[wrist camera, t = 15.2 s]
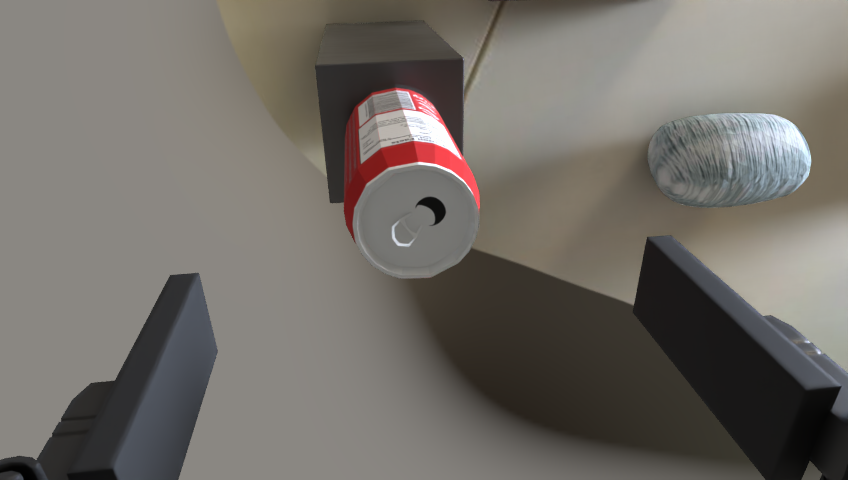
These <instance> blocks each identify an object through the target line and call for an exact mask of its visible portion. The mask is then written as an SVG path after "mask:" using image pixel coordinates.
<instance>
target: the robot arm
mask: <svg viewBox="0 0 848 480" xmlns="http://www.w3.org/2000/svg"><path fill="white" fill-rule="evenodd" d="M633 313H634V314H635V316H636V317H637V318H638V319H639V321H640V322H641V323H642V324H643V326H644V327H645V328H646V329H647V331H648V332H649V333H650V335H651V336H652V337H653V338H654V340H655V341H656V342H657V343H658V344H659V346H660V347H661V348H662V350H663V351H664V352H665V353H666V355H667V356H668V357H669V359H670V360H671V361H672V362H673V363H674V365H675V366H676V367H677V369H678V370H679V371H680V372H681V374H682V375H683V376H684V377H685V379H686V380H687V381H688V382H689V384H690V385H691V386H692V387H693V389H694V390H695V391H696V393H697V394H698V395H699V396H700V397H701V399H702V400H703V401H704V403H705V404H706V405H707V406H708V407H709V409H710V410H711V411H712V413H713V414H714V415H715V416H716V418H717V419H718V420H719V421H720V422H721V424H722V425H723V426H724V428H725V429H726V430H727V431H728V433H729V434H730V435H731V436H732V438H733V439H734V440H735V442H736V443H737V444H738V445H739V447H740V448H741V449H742V450H743V452H744V453H745V454H746V455H747V457H748V458H749V459H750V461H751V462H752V463H753V464H754V466H755V467H756V468H757V469H758V471H759V472H760V473H761V474H762V476H763V477H764V478H765V479H766V480H801V479H802V477H803V475H804V472H805V470H806V468H807V465H808V463H809V461H811V462H812V463H813V464H814V465H815V466H816V467H817V468H818V470H819V471H821V473H822V476H821V478H820V480H848V373H847V372H846V371H845V370H843V369H842V368H841V367H840V366H839V365H837V364H836V363H835V362H834V361H833V360H832V359H830V358H829V357H828V356H827V355H826V354H822V353H821V350H820V349H819V348H817V347H816V346H815V345H814V344H813V343H809V342H808V339H807V338H806V337H804V336H803V335H802V334H801V333H800V332H798V331H797V330H796V329H795V328H794V327H792V326H791V325H789V324H787V323H785V322H783V321H781V320H779V319H777V318H775V317H773V316H771V315H770V316H762V315H761V314H760V313H759V312H757V311H756V310H755V309H754V308H753V307H752V306H751V305H750V304H748V303H747V302H746V301H745V300H744V299H743V298H742V297H740V296H739V295H738V294H737V293H736V292H735V291H734V290H732V289H731V288H730V287H729V286H728V285H727V284H726V283H725V282H723V281H722V280H721V279H720V278H719V277H718V276H717V275H715V274H714V273H713V272H712V271H711V270H710V269H709V268H707V267H706V266H705V265H704V264H703V263H702V262H701V261H699V260H698V259H697V258H696V257H695V256H694V255H693V254H692V253H690V252H689V251H688V250H687V249H686V248H685V247H684V246H682V245H681V244H680V243H679V242H678V241H677V240H676V239H674V238H673V237H672V236H671V235H668V236H656V237H647V239H646V245H645V250H644V255H643V261H642V266H641V271H640V277H639V282H638V287H637V292H636V298H635V303H634V308H633ZM217 351H218V350H217V346H216V342H215V338H214V334H213V330H212V326H211V321H210V318H209V313H208V309H207V305H206V301H205V296H204V292H203V288H202V284H201V280H200V276H199V273H192V274H179V275H170V277H169V279H168V281H167V282H166V284H165V286H164V288H163V290H162V292H161V294H160V296H159V298H158V299H157V301H156V303H155V305H154V307H153V309H152V311H151V313H150V315H149V317H148V319H147V320H146V323H145V324H144V326H143V328H142V330H141V332H140V334H139V336H138V338H137V340H136V342H135V343H134V345H133V347H132V349H131V351H130V353H129V355H128V357H127V359H126V361H125V362H124V364H123V366H122V368H121V370H120V372H119V374H118V376H117V378H116V380H115V381H107V382H97V383H91V384H90V385H89V386H87V387H86V388H85V389H84V390H83V391H82V392H81V393H80V394H78V395H77V396H76V397H75V398H74V399H73V400H72V401H71V403H70V405H69V406H68V408H67V410H66V411H65V413H64V415H63V416H62V418H61V422H59V423H58V425H57V426H56V428H55V430H54V432H53V433H52V437H51V438H49V440H48V441H47V443H46V445H45V446H44V448H43V450H42V452H41V453H40V455H39V457H38V458H37V460H35V459H33V458H32V457H24V456H17V457H11V458H6V459H2V460H0V480H178V479H179V475H180V472H181V469H182V466H183V462H184V459H185V456H186V453H187V449H188V446H189V443H190V439H191V436H192V433H193V430H194V427H195V423H196V420H197V417H198V414H199V411H200V407H201V404H202V400H203V397H204V394H205V391H206V388H207V385H208V381H209V378H210V374H211V372H212V368H213V365H214V362H215V359H216V355H217Z"/></svg>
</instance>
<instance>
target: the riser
mask: <svg viewBox="0 0 848 480" xmlns="http://www.w3.org/2000/svg"><path fill="white" fill-rule="evenodd" d="M315 70H316V79H317V88H318V97H319V106H320V115H321V125H322V134H323V143H324V152H325V161H326V170H327V179H328V189H329V198H330V203H341V202H344V169H345V134H346V125H347V123H348V120H349V118H350V116H351V114H352V112H353V110H354V108H355V106H357V105H358V104H359V103H360V102H361V101H363V100H364V99H365V98H366V97H367V96H369V95H370V94H371V93H373V92H378V91H382V90H387V89H392V88H401V89H408V90H412V91H414V92H416V93H419V94H421V95H422V96H423V97H425V98H426V99H427V100H428V101H429V102H431V103H432V104H433V106H434V107H435V109H436V110H437V111H438V113H439V115H440V116H441V118H442V120H443V122H444V124H445V125H446V127H447V129H448V131H449V133H450V134H451V136H452V138H453V140H454V142H455V143H456V145H457V147H458V149H459V151H460V152H461V154H462V156H463V127H464V58H463V57H462V56H461V55H460V54H459V53H458V52H457V51H455V50H454V49H453V48H452V47H451V46H450V45H449V44H448V43H447V42H446V41H445V40H444V39H443V38H442V37H441V36H439V35H438V34H437V33H436V32H435V31H434V30H433V29H432V28H431V27H430V26H429V25H428V24H427V23H426V22H425V21H396V22H370V23H344V24H326V27H325V31H324V35H323V38H322V42H321V46H320V50H319V53H318V57H317V61H316V65H315Z"/></svg>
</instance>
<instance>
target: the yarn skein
mask: <svg viewBox="0 0 848 480" xmlns="http://www.w3.org/2000/svg"><path fill="white" fill-rule="evenodd" d="M648 164H649V167H650V170H651V173H652V177H653V178H654V180H655V182H656V184H657V186H658V187H659V189H660V190H661V191H662V192H663V194H664V195H666V196H667V197H668V198H670V199H671V200H673V201H675V202H677V203H679V204H683V205H686V206H693V207H707V208H714V207H731V206H739V205H747V204H753V203H758V202H763V201H768V200H772V199H775V198H778V197H783V196H786V195H788V194H790V193H792V192H793V191H795V190H796V189H797V188H798V187H799V186H800V185H801V184H802V183H803V182H804V181H805V180H806V178H807V177H808V175H809V172H810V165H811V156H810V151H809V147H808V144H807V142H806V140H805V138H804V136H803V135H802V133H801V131H800V130H799V129H798V128H797V127H796V126H795V125H794V124H793V123H791V122H790V121H788V120H786V119H784V118H782V117H779V116H777V115H773V114H761V113H721V114H708V115H701V116H691V117H686V118H683V119H679V120H675V121H672V122H670V123H668V124H665V125H663V126H661V127H660V128H659V129H658V130H657V132H656V133H655V134H654V135H653V137H652V139H651V142H650V144H649V149H648Z"/></svg>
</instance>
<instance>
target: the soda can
mask: <svg viewBox="0 0 848 480" xmlns="http://www.w3.org/2000/svg"><path fill="white" fill-rule="evenodd" d="M479 208H480V201H479V190H478V188H477V185H476V182H475V179H474V176H473V174H472V172H471V170H470V169H469V167H468V165H467V163H466V161H465V160H464V158H463V156H462V154H461V152H460V151H459V149H458V147H457V145H456V143H455V142H454V140H453V138H452V136H451V134H450V133H449V131H448V129H447V127H446V125H445V124H444V122H443V120H442V118H441V116H440V115H439V113H438V111H437V110H436V109H435V107H434V106H433V104H432V103H431V102H429V101H428V100H427V99H426V98H425V97H423V96H422V95H421V94H419V93H416V92H414V91H412V90H408V89H401V88H392V89H387V90H382V91H378V92H373V93H371V94H370V95H369V96H367V97H366V98H365V99H364V100H363V101H361V102H360V103H359V104H358V105H357V106H355V108H354V110H353V112H352V114H351V116H350V118H349V120H348V123H347V125H346V134H345V169H344V214H345V220H346V225H347V227H348V230H349V232H350V233H351V236H352V238H353V240H354V242H355V243H356V244H357V246H358V248H359V250H360V252H361V254H362V255H363V256H364V257H365V258H366V260H367V261H368V262H369V263H370V264H371V265H372V266H374V267H375V268H377V269H378V270H380V271H382V272H383V273H385V274H387V275H390V276H394V277H397V278H400V279H401V278H402V279H403V278H431V277H432V276H435V275H436V274H438V273H440V272H442V271H444V270H446V269H448V268H449V267H452V266H454V265H456V264H458V263H459V262H460V261H461V260H462V259H463V258H464V256H465V255H466V254H467V253H468V252H469V251H470V249H471V247H472V245H473V243H474V241H475V239H476V236H477V232H478V228H479Z"/></svg>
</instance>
